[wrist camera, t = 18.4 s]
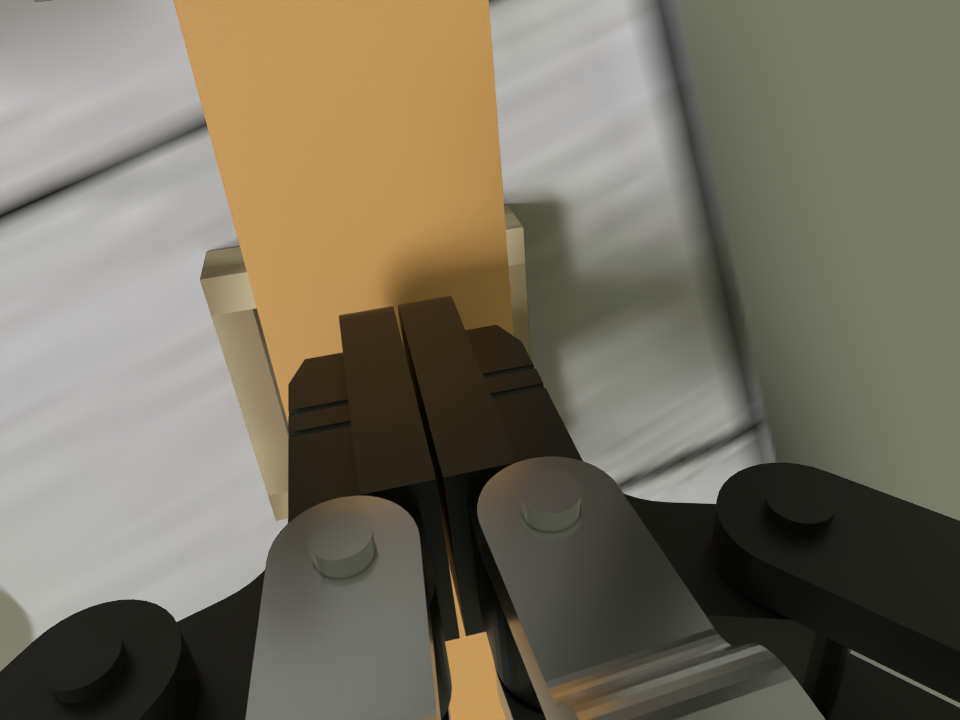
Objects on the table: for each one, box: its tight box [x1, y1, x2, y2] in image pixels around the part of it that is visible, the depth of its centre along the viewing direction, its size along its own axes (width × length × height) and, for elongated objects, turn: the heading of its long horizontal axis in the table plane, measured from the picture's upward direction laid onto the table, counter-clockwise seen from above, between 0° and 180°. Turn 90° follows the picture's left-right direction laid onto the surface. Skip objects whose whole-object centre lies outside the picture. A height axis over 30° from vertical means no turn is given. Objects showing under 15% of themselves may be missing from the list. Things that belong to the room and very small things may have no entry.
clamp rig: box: [34, 0, 530, 521], centre depth 22 cm, size 12×30×20 cm, turn 5°
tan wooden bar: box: [173, 0, 514, 720], centre depth 14 cm, size 4×26×2 cm, turn 5°
